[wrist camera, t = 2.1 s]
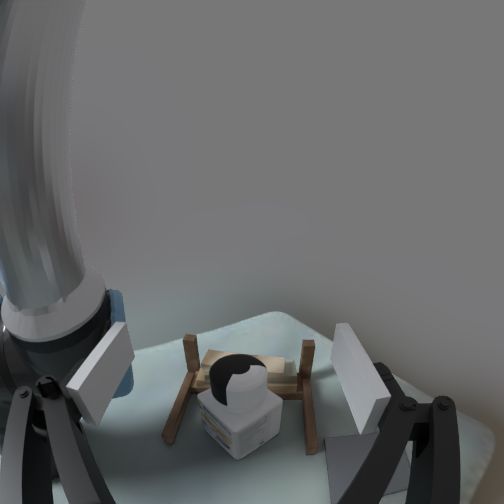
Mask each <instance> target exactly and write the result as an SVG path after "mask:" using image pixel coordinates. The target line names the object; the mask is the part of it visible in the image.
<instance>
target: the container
mask: <svg viewBox="0 0 504 504" xmlns="http://www.w3.org/2000/svg"><path fill="white" fill-rule="evenodd" d="M267 375H268V371H267V368H266V366H265V365H264V363H263V362H261V361H260V360H259V359H257V358H256V357H253V356H250V355H246V354H231V355H227V356H224V357H222V358H220V359H218V360H217V361H216V362H215V363H214V364H213V365H212V366H211V368H210V370H209V377H210V385H211V388H210V389H208V390H206V391H203V392H201V393H199V394H198V395H197V398H198V403H199V408H200V413H201V418H202V422H203V427H204V429H205V430H206V431H207V432H208V433H209V434H210V435H211V436H212V437H213V438H214V439H215V440H216V441H217V442H218V443H219V444H220V445H221V446H222V447H223V448H224V449H225V450H226V451H227V452H228V453H229V454H230V455H231V456H232V457H234V458H235V459H236V460H240V459H241V458H243V457H245V456H246V455H248V454H249V453H251V452H252V451H254V450H255V449H257V448H258V447H260V446H261V445H263V444H264V443H266V442H267V441H268V440H270V439H271V438H273V437H274V436H275V435H277V434H278V433H279V430H280V422H281V414H282V405H283V399H282V398H280V397H279V396H277V395H276V394H274V393H273V392H271V391H270V390H269V389H267Z"/></svg>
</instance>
